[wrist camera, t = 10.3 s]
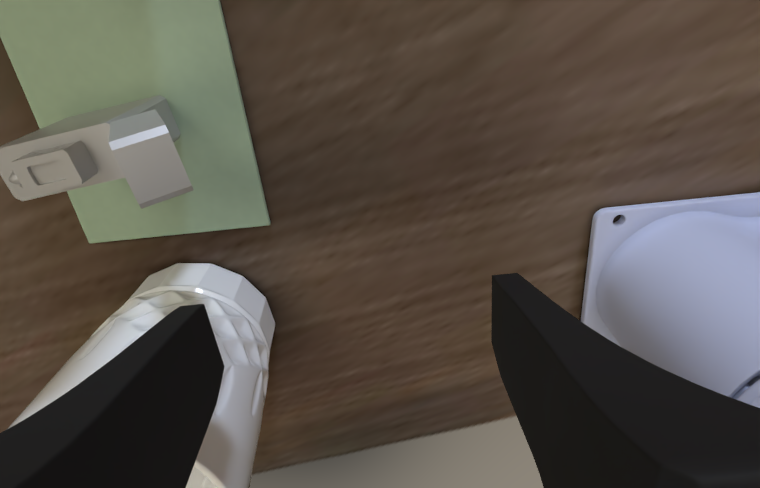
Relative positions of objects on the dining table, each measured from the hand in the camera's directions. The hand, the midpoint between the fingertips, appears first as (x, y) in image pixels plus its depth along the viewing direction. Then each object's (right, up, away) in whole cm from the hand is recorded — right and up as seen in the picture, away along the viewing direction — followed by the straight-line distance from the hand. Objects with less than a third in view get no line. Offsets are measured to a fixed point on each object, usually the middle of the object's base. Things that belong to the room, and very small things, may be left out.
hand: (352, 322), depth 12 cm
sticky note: (-9, +7, +7) cm, 13 cm away
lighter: (-8, +7, +7) cm, 12 cm away
